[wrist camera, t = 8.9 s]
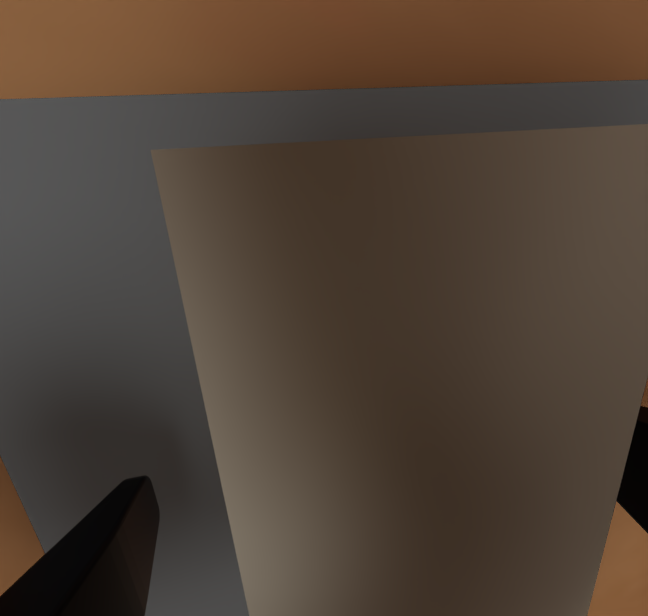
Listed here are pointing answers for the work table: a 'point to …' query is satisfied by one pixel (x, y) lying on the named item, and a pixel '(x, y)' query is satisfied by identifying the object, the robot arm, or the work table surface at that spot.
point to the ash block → (417, 361)
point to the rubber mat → (168, 292)
